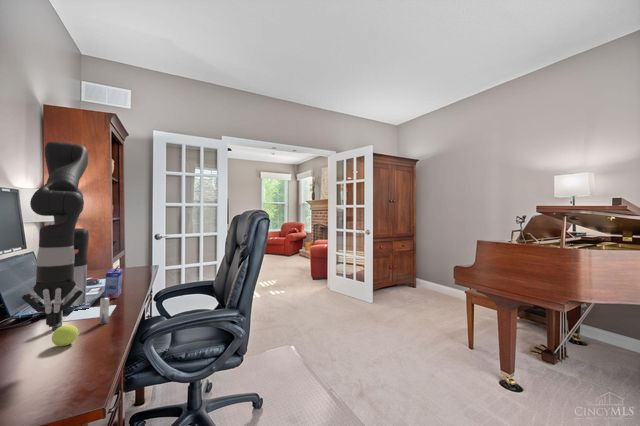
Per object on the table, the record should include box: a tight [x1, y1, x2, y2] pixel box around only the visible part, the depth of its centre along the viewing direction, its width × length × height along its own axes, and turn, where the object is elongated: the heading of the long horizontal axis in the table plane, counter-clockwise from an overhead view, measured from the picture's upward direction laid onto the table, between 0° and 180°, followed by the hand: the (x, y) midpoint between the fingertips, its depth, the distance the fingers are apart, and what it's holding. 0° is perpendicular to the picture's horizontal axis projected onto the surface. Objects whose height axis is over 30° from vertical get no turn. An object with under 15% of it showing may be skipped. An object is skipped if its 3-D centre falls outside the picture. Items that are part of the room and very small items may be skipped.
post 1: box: [51, 310, 64, 331], centre depth 95 cm, size 3×3×9 cm
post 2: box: [98, 297, 110, 325], centre depth 101 cm, size 3×3×9 cm
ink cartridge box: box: [103, 265, 124, 299], centre depth 133 cm, size 10×6×14 cm, turn 27°
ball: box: [51, 324, 79, 347], centre depth 84 cm, size 6×6×6 cm
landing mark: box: [62, 304, 117, 323], centre depth 111 cm, size 14×14×1 cm
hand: (53, 325), depth 75 cm, fingers closed
